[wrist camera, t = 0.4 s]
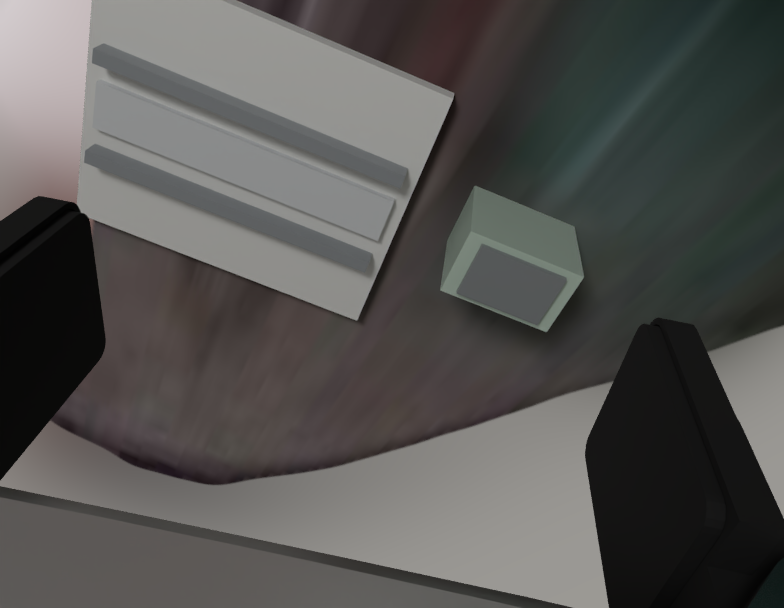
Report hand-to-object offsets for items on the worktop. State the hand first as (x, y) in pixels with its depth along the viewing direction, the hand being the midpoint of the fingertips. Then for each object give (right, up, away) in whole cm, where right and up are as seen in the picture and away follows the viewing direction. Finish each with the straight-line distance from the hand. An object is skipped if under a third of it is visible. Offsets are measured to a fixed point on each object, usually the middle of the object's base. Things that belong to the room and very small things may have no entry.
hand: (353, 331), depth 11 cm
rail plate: (-10, +11, +36) cm, 39 cm away
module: (+9, +6, +37) cm, 39 cm away
